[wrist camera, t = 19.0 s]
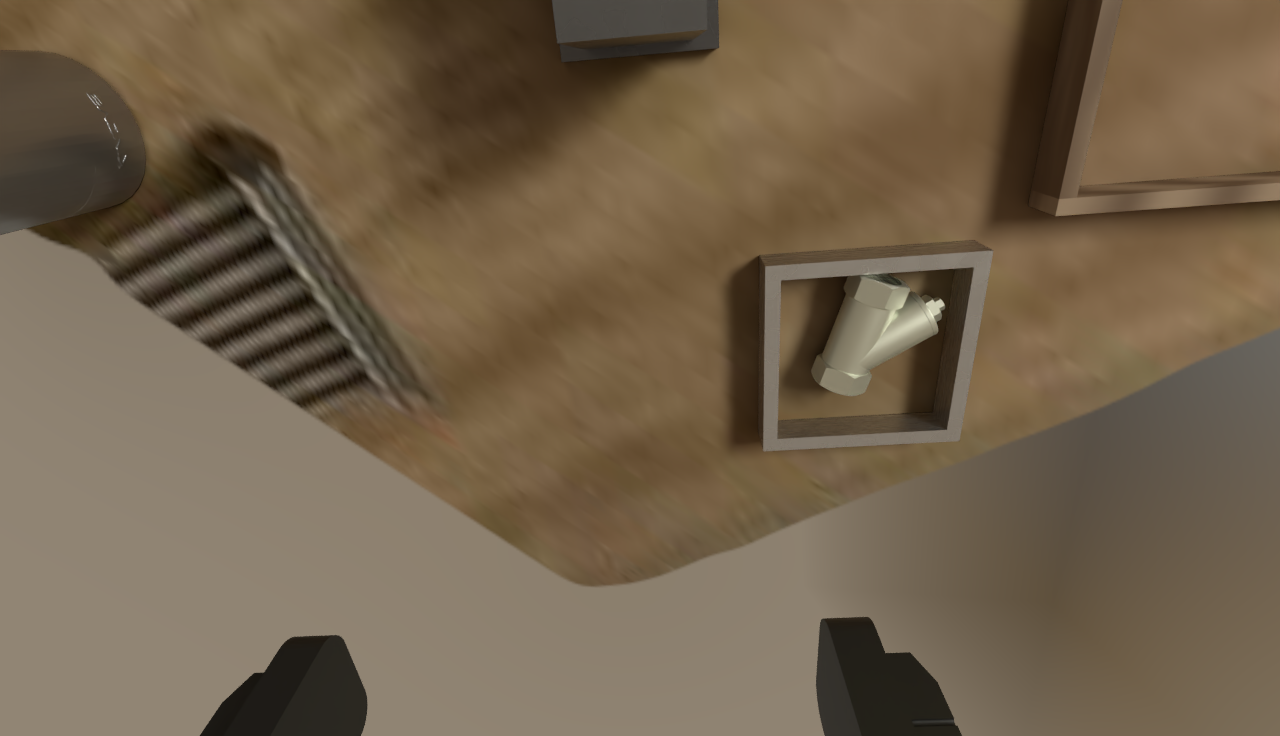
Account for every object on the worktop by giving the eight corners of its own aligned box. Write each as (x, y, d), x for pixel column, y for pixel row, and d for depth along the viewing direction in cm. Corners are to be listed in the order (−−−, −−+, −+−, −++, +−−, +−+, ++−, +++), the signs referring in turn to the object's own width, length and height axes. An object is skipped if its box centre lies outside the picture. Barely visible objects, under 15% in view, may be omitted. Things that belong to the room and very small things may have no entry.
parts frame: (758, 432, 47) (763, 451, 45) (759, 255, 41) (765, 266, 39) (944, 422, 46) (959, 440, 44) (974, 240, 40) (993, 250, 38)
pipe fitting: (936, 281, 42) (846, 262, 41) (966, 302, 39) (868, 282, 38) (890, 381, 46) (806, 366, 45) (914, 409, 42) (823, 393, 41)
